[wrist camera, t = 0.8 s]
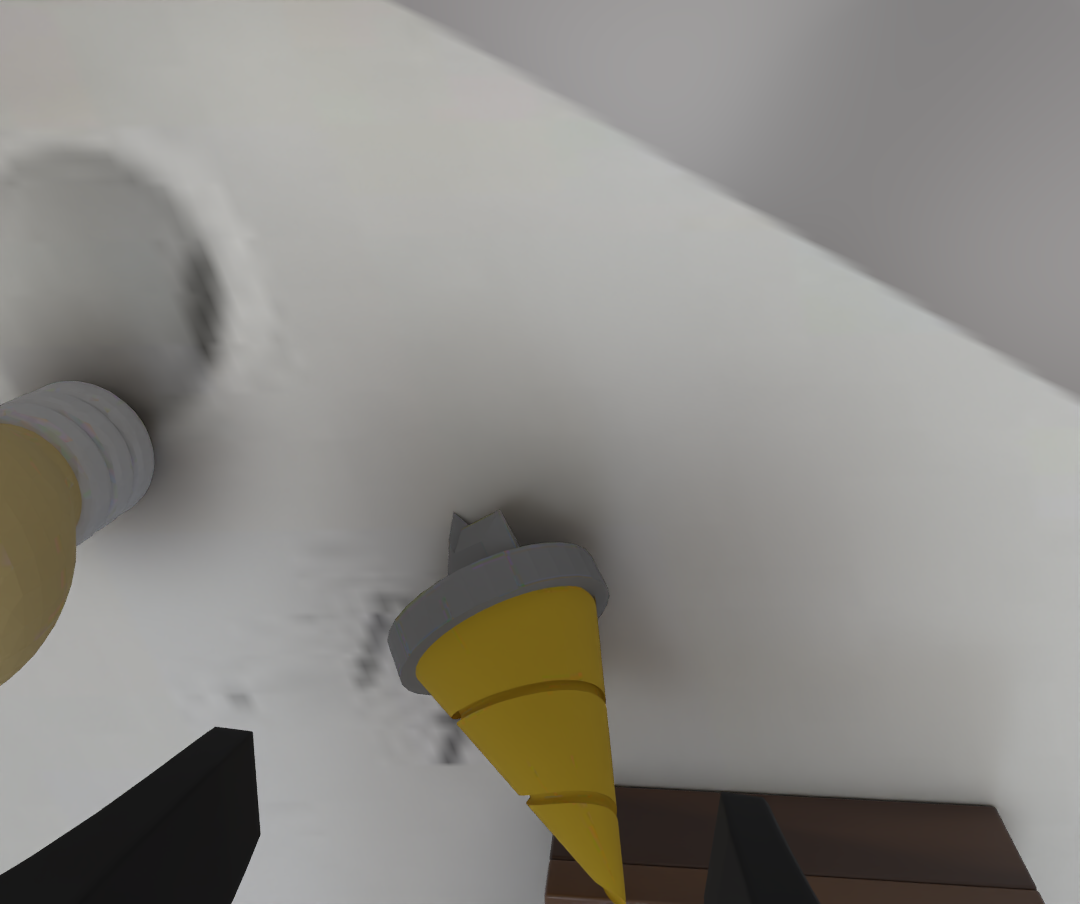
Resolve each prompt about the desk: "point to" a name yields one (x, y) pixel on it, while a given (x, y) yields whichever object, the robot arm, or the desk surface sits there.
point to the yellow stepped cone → (524, 678)
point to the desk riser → (811, 851)
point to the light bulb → (59, 499)
